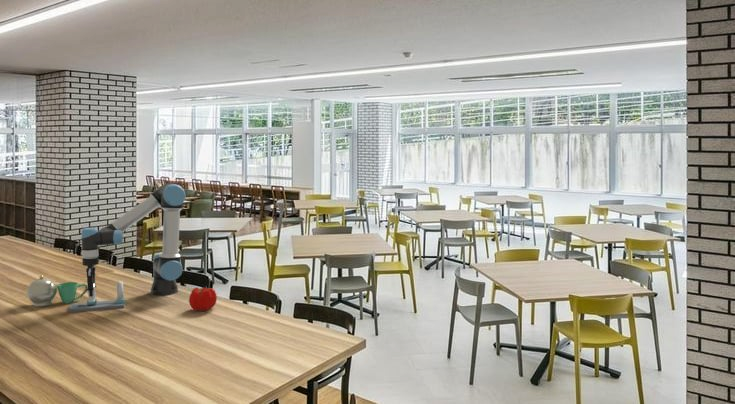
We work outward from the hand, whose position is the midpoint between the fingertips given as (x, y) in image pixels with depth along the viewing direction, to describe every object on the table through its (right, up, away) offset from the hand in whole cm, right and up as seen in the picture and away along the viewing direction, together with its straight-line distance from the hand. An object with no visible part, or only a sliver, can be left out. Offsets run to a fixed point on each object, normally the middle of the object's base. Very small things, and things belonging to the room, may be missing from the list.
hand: (92, 301), depth 281 cm
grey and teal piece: (+2, -3, +1) cm, 4 cm away
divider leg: (0, -2, 0) cm, 2 cm away
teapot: (-30, -3, +4) cm, 30 cm away
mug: (-16, -3, +11) cm, 20 cm away
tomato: (+59, -5, -1) cm, 59 cm away
